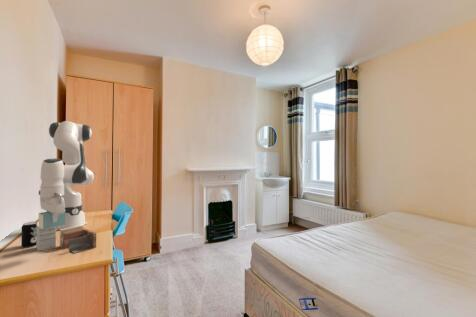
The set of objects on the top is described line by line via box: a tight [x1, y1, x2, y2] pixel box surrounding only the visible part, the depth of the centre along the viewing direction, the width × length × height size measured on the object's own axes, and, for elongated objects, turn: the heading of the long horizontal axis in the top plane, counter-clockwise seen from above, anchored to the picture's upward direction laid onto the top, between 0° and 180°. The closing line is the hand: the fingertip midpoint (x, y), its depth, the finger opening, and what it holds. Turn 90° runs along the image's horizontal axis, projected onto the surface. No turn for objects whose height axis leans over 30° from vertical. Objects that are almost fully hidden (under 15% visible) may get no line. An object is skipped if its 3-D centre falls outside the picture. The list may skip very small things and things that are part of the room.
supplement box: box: [35, 222, 57, 252], centre depth 116 cm, size 7×7×13 cm
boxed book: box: [38, 211, 65, 229], centre depth 107 cm, size 4×9×7 cm, turn 146°
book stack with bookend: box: [59, 225, 97, 254], centre depth 116 cm, size 18×10×9 cm, turn 56°
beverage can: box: [20, 221, 38, 249], centre depth 118 cm, size 7×7×12 cm
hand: (52, 220), depth 107 cm, fingers closed on boxed book, 4 cm apart
